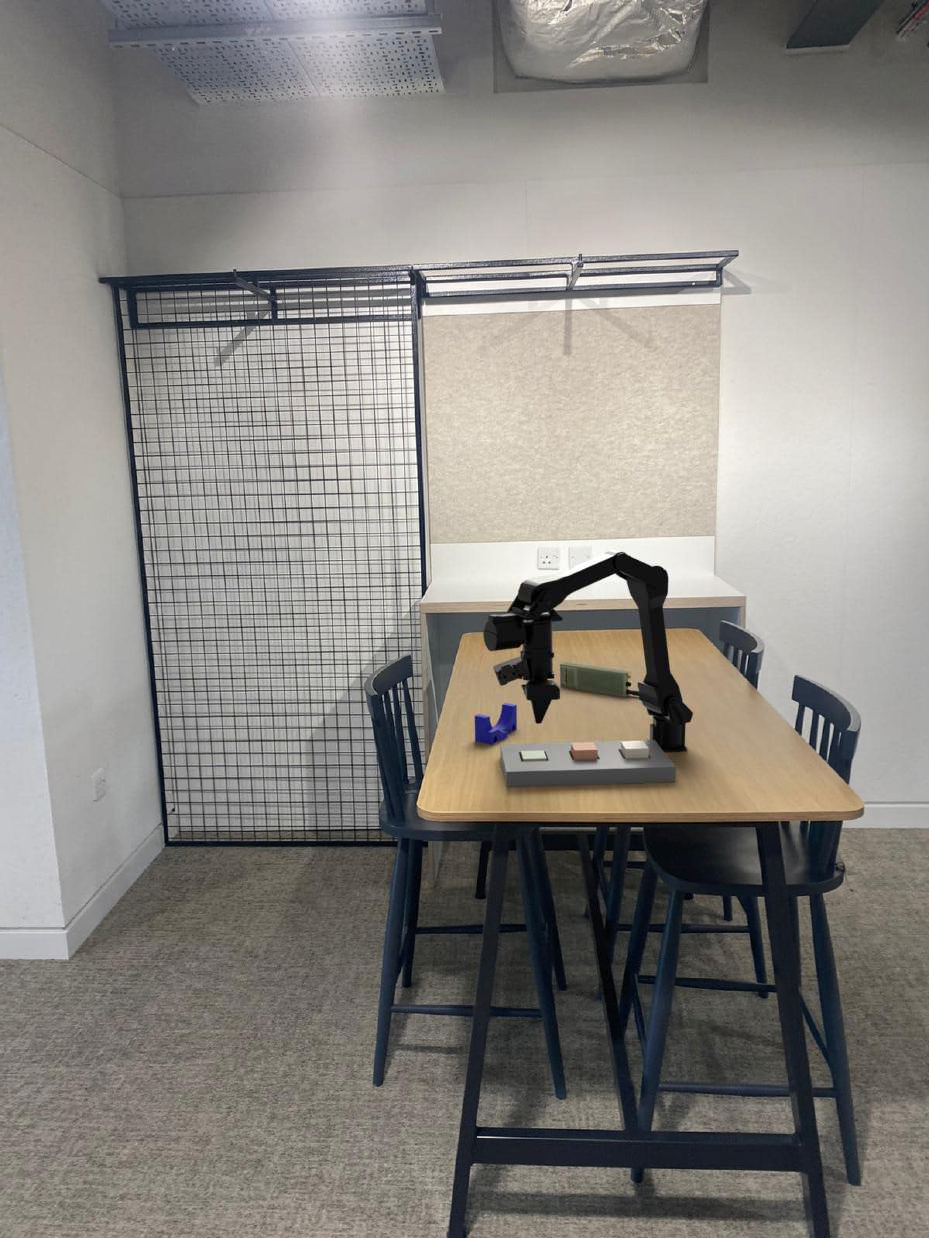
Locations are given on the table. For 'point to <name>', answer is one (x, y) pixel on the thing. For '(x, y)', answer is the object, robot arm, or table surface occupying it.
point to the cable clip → (502, 727)
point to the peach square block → (584, 751)
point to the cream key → (634, 749)
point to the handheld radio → (596, 679)
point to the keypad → (584, 765)
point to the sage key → (533, 756)
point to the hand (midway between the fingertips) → (538, 723)
